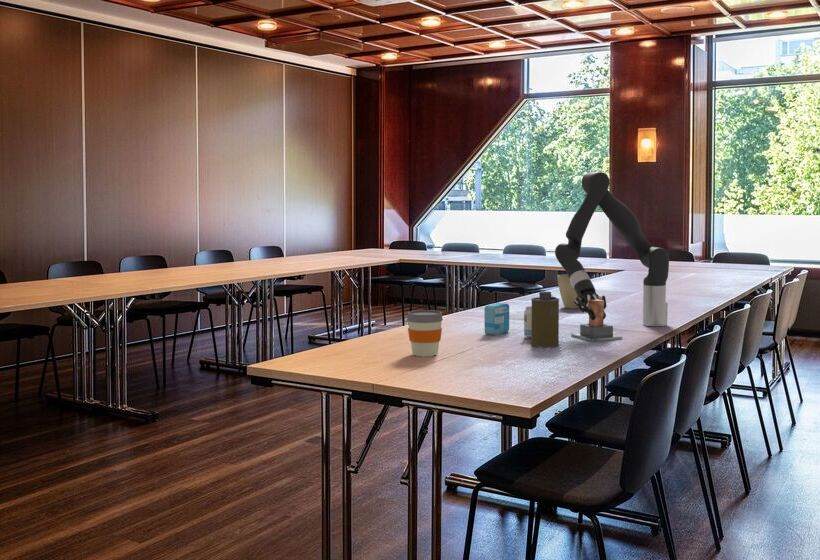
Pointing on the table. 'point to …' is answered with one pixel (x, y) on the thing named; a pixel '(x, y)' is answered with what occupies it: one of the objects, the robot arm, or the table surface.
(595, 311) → the terracotta peg
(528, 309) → the beverage can
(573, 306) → the plant pot
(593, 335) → the socket plate
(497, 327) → the data package
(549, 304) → the canister
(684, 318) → the table surface
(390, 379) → the table surface
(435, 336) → the reusable coffee cup
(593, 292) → the robot arm
